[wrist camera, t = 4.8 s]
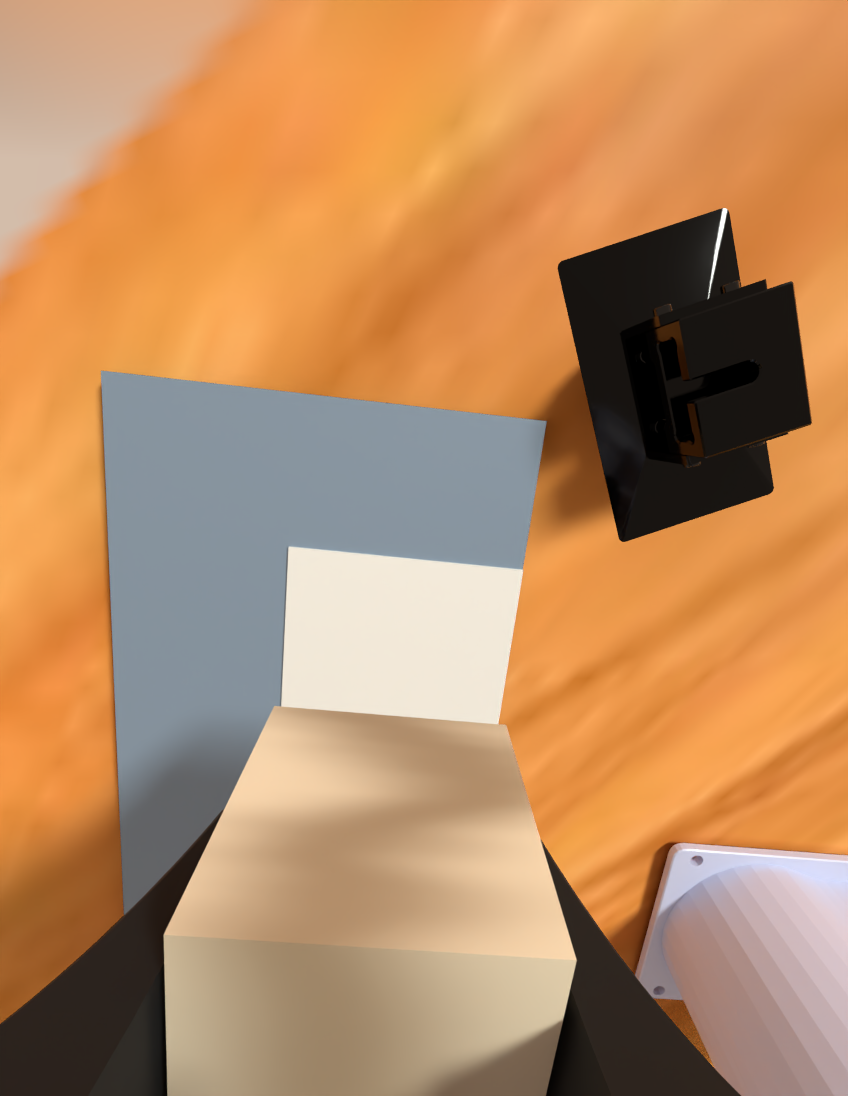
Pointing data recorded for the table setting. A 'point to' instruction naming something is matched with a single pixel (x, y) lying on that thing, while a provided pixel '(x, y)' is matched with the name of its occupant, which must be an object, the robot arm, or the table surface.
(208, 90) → the table surface
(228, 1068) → the maple cube
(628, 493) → the build plate
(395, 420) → the board
